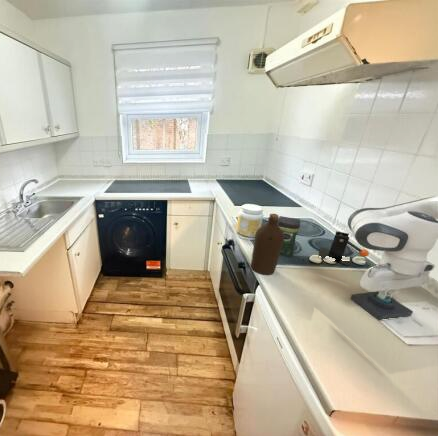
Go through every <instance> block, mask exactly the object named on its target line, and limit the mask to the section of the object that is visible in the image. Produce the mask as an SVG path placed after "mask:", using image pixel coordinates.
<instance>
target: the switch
mask: <svg viewBox="0 0 438 436" xmlns="http://www.w3.org/2000/svg"><path fill="white" fill-rule="evenodd" d="M339 235H342V236H344V235H343V234H341V233H340V234H339ZM347 246H350V248H351V247H352V248H353V249H354V250H355V251H357V252H358V255H359V256H360V257H362V258H366V257H368V256H370V255H369V254H370V252H369V251H368V249H366V248H364V249H361V247H359V246H357V245H355V244H354V243H353V242H351V241H350V240H348V243H347Z"/></svg>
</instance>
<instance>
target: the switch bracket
mask: <svg viewBox="0 0 438 436" xmlns="http://www.w3.org/2000/svg"><path fill="white" fill-rule="evenodd" d="M340 233H341V234H343V235H344V236H342V235H339V234H340ZM348 241H350V233H348V232H343V231H338V230H336V231H335V234H334V237H333V240H332V243H331V246H330V248H329V250H325V249H321V248H319V249H318V257H319V256H321V257H322V258H321V259H322V260H325V259H324V258H325V257H326V256H329V257H332V258H335V259H336V260H335V261H333V262H334V263H338V264H341V265H346V266H350V267H353V263H352V256H349V255H345V251H346V249H347V246H348V244H347V243H348ZM342 256H345V257H350V258H351V259H350V261H342V260H341V259H342Z"/></svg>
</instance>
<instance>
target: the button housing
mask: <svg viewBox="0 0 438 436" xmlns="http://www.w3.org/2000/svg"><path fill="white" fill-rule="evenodd" d="M377 294H379V291H375V292H369V291H368V292H359V293H353V294H351V296H350V298H349V299H350V301H352V303H354V304H356V305H357V306H359V307H360V308H362V309H363V310H364V311H365V312H367V313H368V314H369V315H370V316H371V317H373V318H375V319H376V320H377V321H383V320H382V319H388V320H390V319H389V318H395V319H400V318H399V317H403V318H409V316H410V317H411V316H412V314H413V313H414V311H413V310H412V309H410V308H408V307H407V306H405V305H404V304H402V303H401V302H399V301H398V300H396V299H395V298H393V297H391V298H390V299H391V302H390V303H387V302H383V301H381V300H379V299H377V298H376V295H377Z"/></svg>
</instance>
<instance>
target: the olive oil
mask: <svg viewBox="0 0 438 436" xmlns="http://www.w3.org/2000/svg"><path fill="white" fill-rule="evenodd" d="M279 217H280V216H279V214H277V213H269V217H268V218H267V219H268V220H267V223H265V224H262V226H261V227H260V228H259V229H258V230H257V232H256V234H255V240H253V249H252V254H251V261H250V268H251V270H252V271H254V272H255V273H257V274H259V275H264V276H271V275H273V274H275V272H276V268H277V264H278V261H279V258H280V252H281V249H282V246H283V243H284V234H283V232H282V230H281V229H280V228H279V226H278V225H277V223H278V218H279Z"/></svg>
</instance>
